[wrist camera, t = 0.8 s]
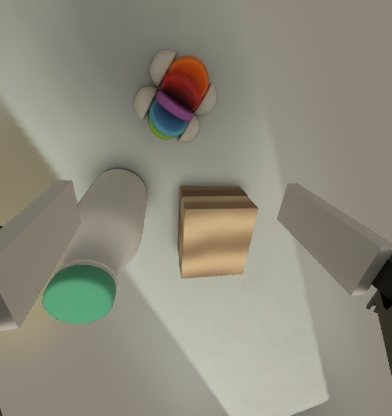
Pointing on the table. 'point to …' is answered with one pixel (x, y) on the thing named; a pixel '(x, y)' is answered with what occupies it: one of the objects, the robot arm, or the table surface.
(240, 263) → the tower top
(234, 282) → the table surface
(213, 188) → the tower base
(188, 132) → the multicoloured petal toy
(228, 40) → the table surface
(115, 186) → the milk bottle
